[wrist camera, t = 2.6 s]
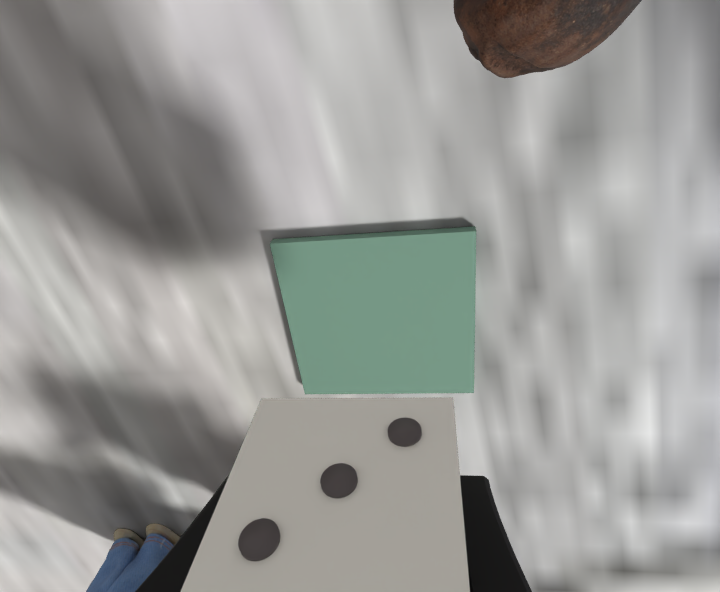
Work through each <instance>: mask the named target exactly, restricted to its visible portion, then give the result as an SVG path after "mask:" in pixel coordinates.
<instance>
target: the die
mask: <svg viewBox="0 0 720 592" xmlns="http://www.w3.org/2000/svg"><path fill="white" fill-rule="evenodd" d="M181 592H470V586H469V574H468V563H467V551H466V540H465V528H464V517H463V505H462V494H461V482H460V471H459V459H458V447H457V436H456V424H455V413H454V401H453V398H290V399H261V401H260V403H259V406H258V408H257V410H256V413H255V415H254V418H253V420H252V422H251V425H250V427H249V430H248V432H247V434H246V437H245V439H244V441H243V444H242V446H241V449H240V451H239V453H238V456H237V458H236V460H235V463H234V465H233V468H232V470H231V472H230V475H229V477H228V480H227V482H226V484H225V487H224V489H223V491H222V494H221V496H220V499H219V501H218V503H217V506H216V508H215V511H214V513H213V515H212V518H211V520H210V522H209V525H208V527H207V530H206V532H205V534H204V537H203V539H202V542H201V544H200V546H199V549H198V551H197V553H196V556H195V558H194V561H193V563H192V565H191V568H190V570H189V573H188V575H187V577H186V580H185V582H184V584H183V587H182V589H181Z"/></svg>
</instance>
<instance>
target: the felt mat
mask: <svg viewBox="0 0 720 592" xmlns="http://www.w3.org/2000/svg"><path fill="white" fill-rule="evenodd" d="M270 247H271V251H272V256H273V260H274V264H275V268H276V273H277V277H278V281H279V286H280V290H281V294H282V298H283V303H284V307H285V311H286V315H287V320H288V324H289V328H290V332H291V337H292V341H293V345H294V349H295V354H296V358H297V362H298V366H299V371H300V375H301V379H302V384H303V388H304V392H305V394H395V393H474V344H475V278H476V229H475V226H474V227H458V228H442V229H426V230H410V231H394V232H378V233H362V234H346V235H331V236H315V237H299V238H283V239H273V240H272V241H271V243H270Z"/></svg>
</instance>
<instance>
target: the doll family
mask: <svg viewBox="0 0 720 592" xmlns="http://www.w3.org/2000/svg"><path fill="white" fill-rule="evenodd" d="M146 535H147V538H146V540H145V541H143V540H142V539H141V538H140V537H139V536H138V535H137V534H135V533H134V532H132V531H131V530H128V529H117V530H116V531H115V532H114V543H113V545H112V547H111V549H110V550H109V552H108V555H107V557H106V560H105V562H104V563H103V565H102V566H101V568H100V570H99V571H98V573H97V575H96V577H95V578H94V580H93V581H92V583H91V584H90V586H89V587H88V589H87V591H86V592H135V591H136V590H137V589H138V588H139V586H140V585H141V584H142V583H143V582H144V581H145V579H146V578H147V577H148V576H149V575H150V574H151V573H152V571H153V570H154V569H155V568H156V567H157V566H158V564H159V563H160V562H161V561H162V560H163V559H164V557H165V556H166V555H167V554H168V552H169V551H170V550H171V549H172V547H173V546H174V545H175V544H176V542H177V541H178V540H179V539H180V538H181V537H180V536H178V535H177V534H176V533H174V532H173V531H171V530H170V529H168V528H167V527H165V526H163V525H161V524H150V525H148V526H147V527H146Z"/></svg>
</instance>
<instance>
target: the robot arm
mask: <svg viewBox="0 0 720 592" xmlns="http://www.w3.org/2000/svg"><path fill="white" fill-rule="evenodd" d="M229 475H230V474H229ZM229 475H228V477H229ZM228 477H227V478H226V479H225V481H224V482H223V483H222V485H221V486H220V487H219V489H218V490H217V491H216V493H215V494H214V495H213V497H212V498H211V499H210V500H209V502H208V503H207V504H206V506H205V507H204V508H203V510H202V511H201V512H200V513H199V515H198V516H197V517H196V519H195V520H194V521H193V522H192V524H191V525H190V526H189V528H188V529H187V530H186V531H185V533H184V534H183V535H182V536H181V538H180V539H179V540H178V541H177V542H176V544H175V545H174V546H173V547H172V549H171V550H170V551H169V552H168V554H167V555H166V556H165V557H164V559H163V560H162V561H161V562H160V563H159V564H158V566H157V567H156V568H155V569H154V570H153V571H152V573H151V574H150V575H149V576H148V577H147V578H146V579H145V581H144V582H143V583H142V584H141V585H140V586H139V588H138V589H137V590H136V591H135V592H181V589H182V587H183V584H184V582H185V580H186V577H187V575H188V573H189V570H190V568H191V565H192V563H193V561H194V558H195V556H196V553H197V551H198V549H199V546H200V544H201V542H202V539H203V537H204V534H205V532H206V530H207V527H208V525H209V522H210V520H211V518H212V515H213V513H214V511H215V508H216V506H217V503H218V501H219V499H220V496H221V494H222V491H223V489H224V487H225V484H226V482H227V480H228ZM460 482H461V494H462V505H463V517H464V528H465V540H466V551H467V563H468V574H469V586H470V592H532V591H531V589H530V587H529V584H528V582H527V580H526V578H525V576H524V574H523V571H522V569H521V567H520V565H519V563H518V560H517V558H516V556H515V554H514V551H513V549H512V547H511V544H510V542H509V539H508V537H507V534H506V532H505V529H504V527H503V524H502V522H501V519H500V516H499V513H498V511H497V508H496V505H495V502H494V498H493V495H492V492H491V488H490V484H489V480H488V479H487V478H485V477H484V476H461V475H460Z"/></svg>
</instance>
